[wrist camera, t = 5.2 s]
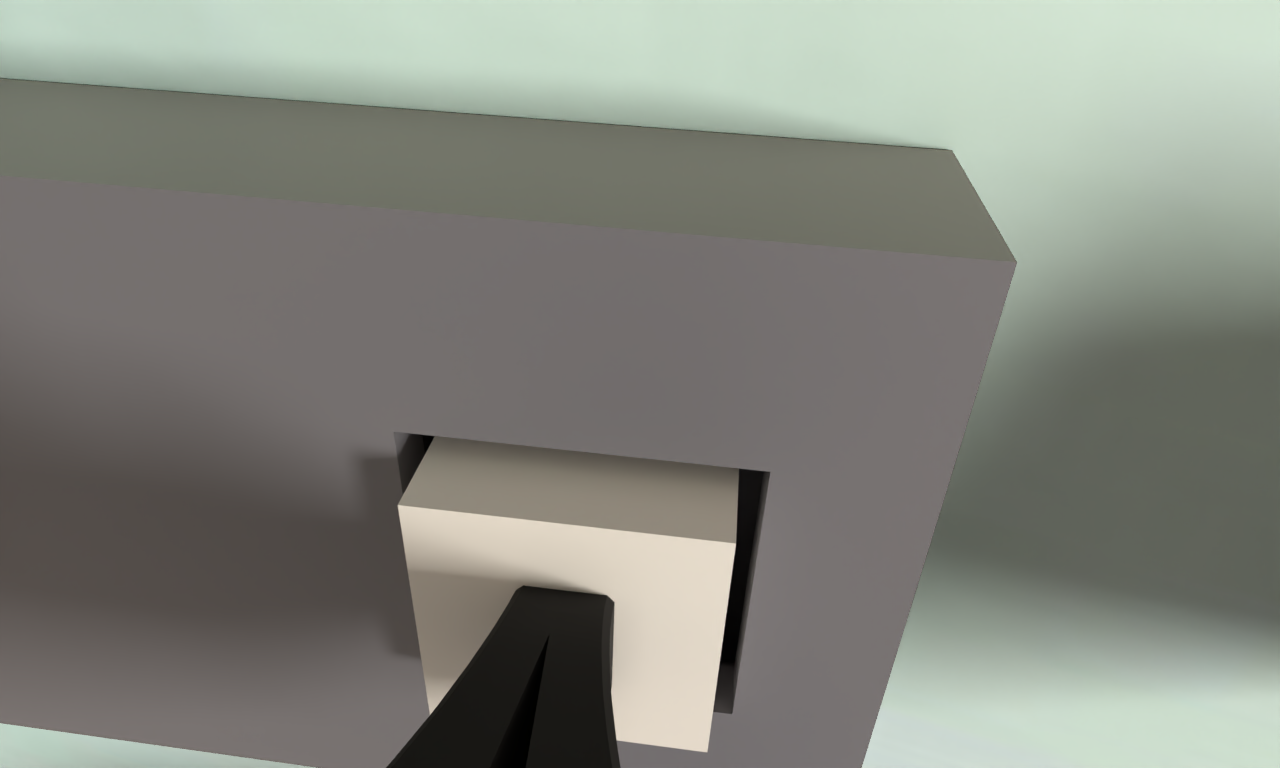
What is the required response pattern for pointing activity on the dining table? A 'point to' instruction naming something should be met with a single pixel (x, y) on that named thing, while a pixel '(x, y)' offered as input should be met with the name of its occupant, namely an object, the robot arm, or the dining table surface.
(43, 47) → the dining table surface
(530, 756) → the robot arm
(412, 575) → the off-white key
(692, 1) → the dining table surface
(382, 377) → the panel
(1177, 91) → the dining table surface
